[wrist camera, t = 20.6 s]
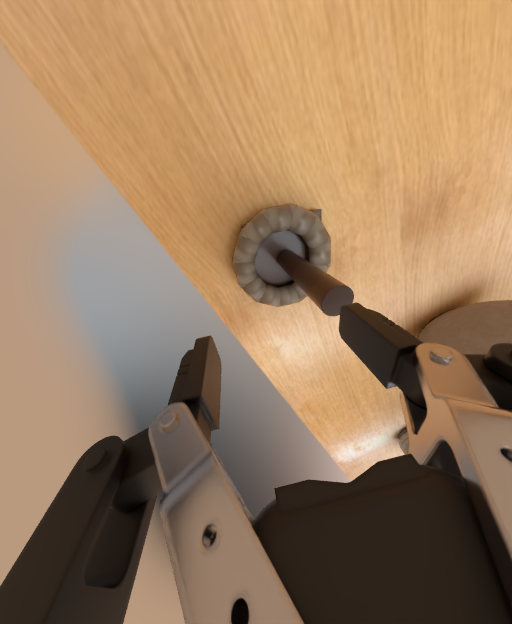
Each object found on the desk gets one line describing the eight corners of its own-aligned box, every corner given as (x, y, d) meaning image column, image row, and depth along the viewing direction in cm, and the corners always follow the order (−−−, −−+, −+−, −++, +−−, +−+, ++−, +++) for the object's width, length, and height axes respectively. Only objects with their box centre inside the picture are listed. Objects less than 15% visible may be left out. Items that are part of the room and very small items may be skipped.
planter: (491, 270, 29) (822, 347, 13) (491, 300, 32) (757, 391, 16) (384, 336, 33) (535, 457, 17) (394, 356, 36) (529, 475, 20)
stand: (254, 294, 25) (277, 366, 14) (240, 225, 21) (257, 244, 9) (316, 280, 26) (390, 339, 14) (315, 209, 21) (424, 208, 10)
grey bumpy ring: (245, 308, 25) (246, 317, 23) (222, 217, 19) (221, 218, 17) (324, 290, 25) (333, 297, 23) (325, 195, 19) (337, 193, 17)
